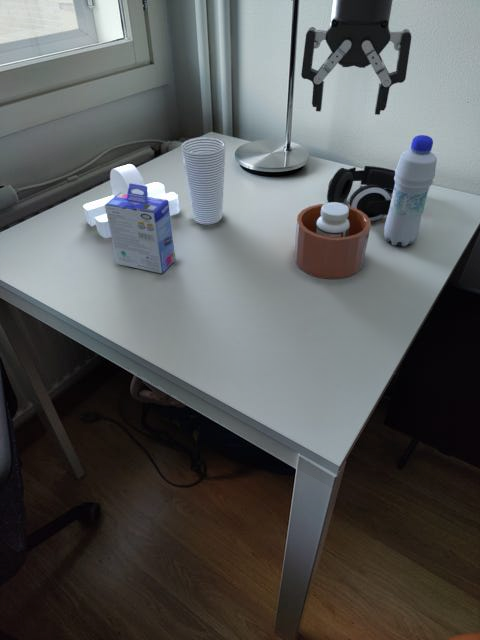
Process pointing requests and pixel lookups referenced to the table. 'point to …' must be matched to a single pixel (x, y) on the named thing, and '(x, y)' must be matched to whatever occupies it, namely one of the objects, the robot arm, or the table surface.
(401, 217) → the bottle
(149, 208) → the ink cartridge box
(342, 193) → the headphones
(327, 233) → the pill bottle
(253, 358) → the table surface
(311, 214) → the crock
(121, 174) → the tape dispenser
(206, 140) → the cup
